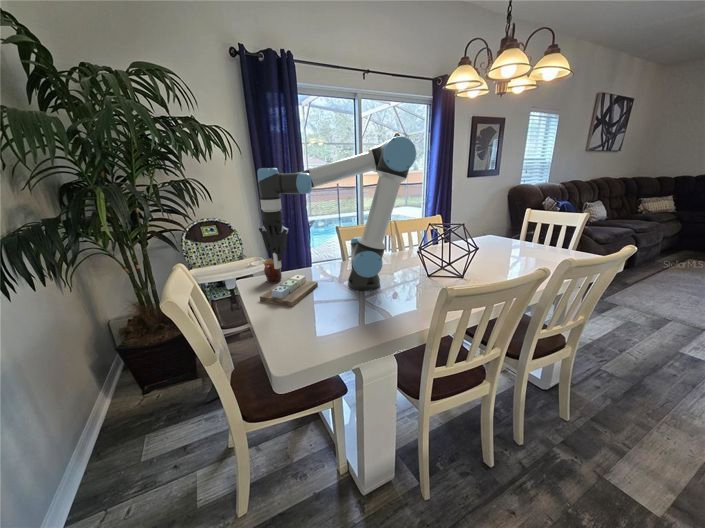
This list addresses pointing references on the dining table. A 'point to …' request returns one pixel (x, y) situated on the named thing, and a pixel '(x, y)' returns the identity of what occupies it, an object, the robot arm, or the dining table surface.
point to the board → (290, 294)
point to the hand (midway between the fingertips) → (278, 267)
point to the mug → (271, 271)
